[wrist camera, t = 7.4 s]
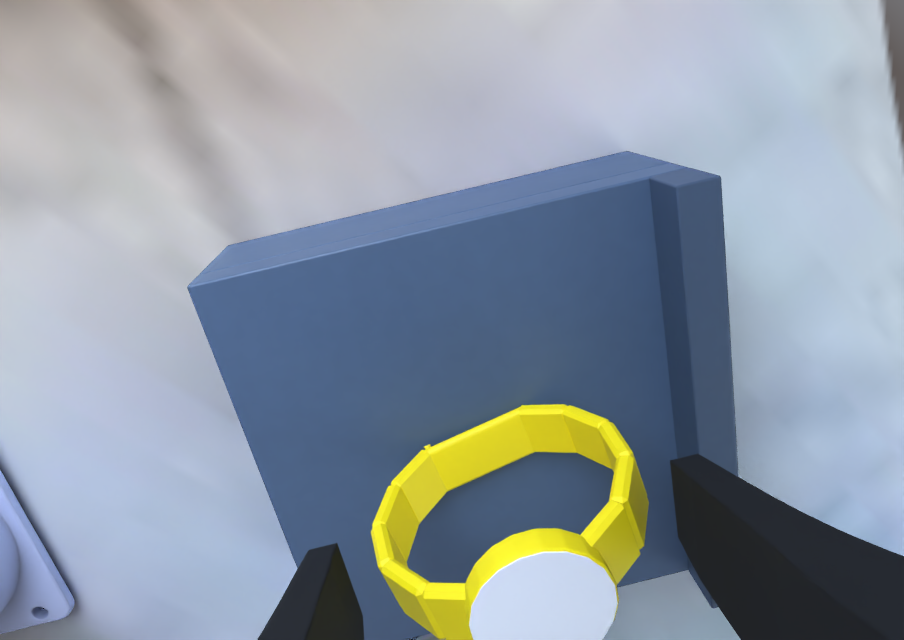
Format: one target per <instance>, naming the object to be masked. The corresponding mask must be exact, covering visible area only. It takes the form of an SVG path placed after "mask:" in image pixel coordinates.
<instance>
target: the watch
mask: <svg viewBox="0 0 904 640" xmlns="http://www.w3.org/2000/svg"><path fill="white" fill-rule="evenodd" d="M424 448H425V450H421V451H420V452H419V453H418V454H417V455H416V456H415V457H414V458H413V460H412V461H411V462H410V463H409V464H408V465H407V466H406V467H405V468H404V469H403V470H402V471H401V472H400V473H399V474H398V475H397V476H396V477H395V478H394V479H393V480H392V482H391V486H388V488H387V490H386V492H385V495H384V497H383V500H382V502H381V504H380V507H379V509H378V512H377V514H376V516H375V519H374V521H373V524H372V527H373V528H372V530H371V535H372V540H373V545H374V550H375V555H376V560H377V565H378V568H379V570H380V571H381V573H382V575H383V577H384V578H385V580H386V582H387V584H388V585H389V587H390V589H391V591H392V593H393V594H394V596H395V598H396V600H397V601H398V603H399V605H400V607H401V608H402V609H403V611H404V613H405V614H407V615H408V616H409V617H410V618H412V619H413V620H414V621H416V622H417V623H418V624H420V625H421V626H422V627H424V628H425V629H426V630H428V631H429V632H430V633H432V634H433V635H434V636H436V637H437V638H438V639H445V638H446V640H602V639H603V638H604V636H605V635H606V633H607V632H608V630H609V628H610V627H611V625H612V623H613V622H614V620H615V616H616V612H617V608H618V603H619V597H618V591H617V584H618V583H619V582H620V580H621V579H622V578H623V576H624V575H625V574H626V573H627V571H628V570H629V569H630V567H631V566H632V565H633V563H634V562H635V561H636V559H637V558H638V557H639V556H640V550H639V549H641V548H642V547H643V546H644V542H645V533H646V524H647V515H648V506H649V501H648V498H647V493H646V490H645V487H644V484H643V481H642V478H641V475H640V472H639V469H638V466H637V463H636V460H635V457H634V454H633V452H632V450H631V449H630V447H629V446H628V444H627V443H626V441H625V440H624V438H623V437H622V435H621V434H620V432H619V431H618V429H617V428H616V426H615V425H614V423H612V422H609V420H608V419H606V418H603V417H601V416H598V415H595V414H593V413H590V412H588V411H585V410H582V409H580V408H577V407H574V406H571V405H569V406H567V405H565V404H553V405H521V407H518V408H516V409H514V410H512V411H510V412H507V413H505V414H503V415H501V416H498V417H496V418H494V419H492V420H490V421H487V422H485V423H483V424H481V425H478V426H476V427H474V428H472V429H470V430H467V431H465V432H463V433H461V434H458V435H456V436H454V437H452V438H450V439H447V440H445V441H443V442H441V443H438V444H436V445H434V446H432V447H431V446H430V444H429V445H426V446H424ZM534 452H558V453H578V454H581V455H583V456H585V457H587V458H589V459H591V460H593V461H595V462H597V463H600V464H602V465H604V466H606V467H608V468H610V469H612V470H613V472H614V475H613V481H612V486H611V492H610V497H609V502H608V503H607V504H606V505H605V506H604V508H603V509H602V510H601V511H600V512H599V513H598V515H597V516H596V517H595V518H594V519H593V520H592V522H591V523H590V524H589V525H588V526H587V527H586V529H585V530H584V531H583V532H582V533H581V534H580V535H579V534H576V533H573V532H569V531H566V530H563V529H558V528H536V529H531V530H527V531H524V532H520V533H517V534H513V535H511V536H509V537H507V538H506V539H504V540H502V541H500V542H499V543H497V544H495V545H494V546H492V547H491V548H490V549H489V550H488V551H487V552H486V553H485V554H484V555H483V556H482V557H481V558H480V559H479V560H478V561H477V562H476V563H475V565H474V567H473V569H472V571H471V572H470V574H469V576H468V578H467V580H466V583H435V582H431V583H430V582H429V581H427V580H426V579H424V578H423V577H421V576H420V575H418V574H416V573H415V572H413V571H412V570H410V569H409V568H408V566H407V560H408V557H409V554H410V550H411V547H412V544H413V541H414V538H415V535H416V532H417V529H418V526H419V524H420V523H421V521H422V520H423V519H424V518H425V517H426V516H427V514H428V513H429V512H430V511H431V510H432V509H433V508H434V506H435V505H436V504H437V503H438V502H439V501H440V499H441V498H442V497H443V496H444V495H445V494H446V492H448V491H450V490H452V489H454V488H457V487H459V486H461V485H463V484H465V483H468V482H470V481H472V480H474V479H476V478H479V477H481V476H483V475H485V474H487V473H490V472H492V471H494V470H496V469H499V468H501V467H503V466H505V465H507V464H510V463H512V462H514V461H516V460H518V459H521V458H523V457H525V456H527V455H529V454H532V453H534Z"/></svg>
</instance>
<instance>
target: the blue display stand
mask: <svg viewBox="0 0 904 640" xmlns="http://www.w3.org/2000/svg"><path fill="white" fill-rule="evenodd" d="M188 291H189V293H190V296H191V298H192V301H193V304H194V306H195V309H196V311H197V314H198V316H199V319H200V321H201V324H202V326H203V329H204V332H205V334H206V337H207V339H208V342H209V344H210V347H211V349H212V352H213V354H214V357H215V360H216V362H217V365H218V367H219V370H220V372H221V375H222V377H223V380H224V382H225V385H226V388H227V390H228V393H229V395H230V398H231V400H232V403H233V405H234V408H235V410H236V413H237V416H238V418H239V421H240V423H241V426H242V428H243V431H244V433H245V436H246V438H247V441H248V444H249V446H250V449H251V451H252V454H253V456H254V459H255V461H256V464H257V466H258V469H259V472H260V474H261V477H262V479H263V482H264V484H265V487H266V489H267V492H268V494H269V497H270V500H271V502H272V505H273V507H274V510H275V512H276V515H277V517H278V520H279V522H280V525H281V528H282V530H283V533H284V535H285V538H286V540H287V543H288V545H289V548H290V550H291V553H292V556H293V558H294V561H295V563H296V566H297V568H299V566H300V564H301V562H302V560H303V558H304V557H305V555H306V553H307V552H308V550H310V549H314V548H318V547H322V546H326V545H331V544H335V543H337V544H338V547H339V550H340V552H341V555H342V558H343V561H344V564H345V566H346V569H347V572H348V575H349V578H350V580H351V583H352V586H353V589H354V592H355V594H356V597H357V600H358V603H359V606H360V608H361V611H362V614H363V624H364V640H406V639H410V638H414V637H418V636H422V635H426V634H430V632H429V631H428V630H426V629H425V628H424V627H422V626H421V625H420V624H418V623H417V622H416V621H414V620H413V619H412V618H410V617H409V616H408V615H407V614H405V613H404V611H403V609H402V608H401V607H400V605H399V603H398V601H397V600H396V598H395V596H394V594H393V593H392V591H391V589H390V587H389V585H388V584H387V582H386V580H385V578H384V577H383V575H382V573H381V571H380V570H379V568H378V565H377V560H376V555H375V550H374V545H373V540H372V535H371V530H372V528H373V527H372V524H373V521H374V519H375V516H376V514H377V512H378V509H379V507H380V504H381V502H382V500H383V497H384V495H385V492H386V490H387V488H388V486H391V482H392V480H393V479H394V478H395V477H396V476H397V475H398V474H399V473H400V472H401V471H402V470H403V469H404V468H405V467H406V466H407V465H408V464H409V463H410V462H411V461H412V460H413V458H414V457H415V456H416V455H417V454H418V453H419V452H420V451H421V450H425V448H424V446H426V445H429V444H430V446H431V447H432V446H434V445H436V444H438V443H441V442H443V441H445V440H447V439H450V438H452V437H454V436H456V435H458V434H461V433H463V432H465V431H467V430H470V429H472V428H474V427H476V426H478V425H481V424H483V423H485V422H487V421H490V420H492V419H494V418H496V417H498V416H501V415H503V414H505V413H507V412H510V411H512V410H514V409H516V408H518V407H521V405H553V404H565V405H567V406H569V405H571V406H574V407H577V408H580V409H582V410H585V411H588V412H590V413H593V414H595V415H598V416H601V417H603V418H606V419H608V420H609V422H612V423H614V425H615V426H616V428H617V429H618V431H619V432H620V434H621V435H622V437H623V438H624V440H625V441H626V443H627V444H628V446H629V447H630V449H631V450H632V452H633V454H634V457H635V460H636V463H637V466H638V469H639V472H640V475H641V478H642V481H643V484H644V487H645V490H646V493H647V498H648V501H649V506H648V515H647V524H646V533H645V542H644V546H643V547H642V548H641V549H639V550H640V556H639V557H638V558H637V559H636V561H635V562H634V563H633V565H632V566H631V567H630V569H629V570H628V571H627V573H626V574H625V575H624V576H623V578H622V579H621V580H620V582H619V583H618V584H617V587H621V586H625V585H629V584H633V583H637V582H641V581H645V580H649V579H653V578H657V577H661V576H665V575H669V574H674V573H678V572H682V571H686V570H689V572H690V574H691V575H692V577H693V579H694V580H695V582H696V583H697V585H698V587H699V588H700V590H701V591H702V593H703V595H704V596H705V598H706V600H707V601H708V603H709V604H710V606H711V607H712V608H717V607H718V605H717V604H716V602H715V601H714V599H713V598H712V597H711V595H710V594H709V592H708V591H707V589H706V588H705V586H704V585H703V583H702V582H701V580H700V578H699V576H698V575H697V573H696V571H695V569H694V567H693V565H692V563H691V562H690V560H689V558H688V556H687V554H686V552H685V550H684V548H683V546H682V544H681V542H680V540H679V538H678V532H677V523H676V513H675V504H674V495H673V485H672V476H671V466H670V460H674V459H678V458H682V457H686V456H690V455H694V454H699V455H701V456H703V457H705V458H707V459H708V460H710V461H712V462H713V463H715V464H717V465H719V466H720V467H722V468H724V469H725V470H727V471H729V472H730V473H732V474H734V475H736V476H737V477H738V460H737V443H736V426H735V409H734V392H733V375H732V358H731V341H730V324H729V307H728V290H727V273H726V256H725V239H724V222H723V205H722V188H721V177H720V176H718V175H715V174H711V173H707V172H703V171H700V170H696V169H692V168H688V167H684V166H680V165H677V164H673V163H669V162H666V161H662V160H658V159H655V158H651V157H647V156H644V155H640V154H636V153H633V152H629V151H625V152H621V153H617V154H613V155H608V156H604V157H600V158H596V159H591V160H587V161H583V162H579V163H575V164H570V165H566V166H562V167H558V168H553V169H549V170H545V171H541V172H537V173H532V174H528V175H524V176H520V177H515V178H511V179H507V180H503V181H498V182H494V183H490V184H486V185H482V186H477V187H473V188H469V189H465V190H460V191H456V192H452V193H448V194H444V195H439V196H435V197H431V198H427V199H422V200H418V201H414V202H410V203H406V204H401V205H397V206H393V207H389V208H384V209H380V210H376V211H372V212H367V213H363V214H359V215H355V216H351V217H346V218H342V219H338V220H334V221H329V222H325V223H321V224H317V225H313V226H308V227H304V228H300V229H296V230H291V231H287V232H283V233H279V234H275V235H270V236H266V237H262V238H258V239H253V240H249V241H245V242H241V243H237V244H232V245H228V246H227V247H226V248H225V249H224V250H223V251H222V252H221V253H220V254H219V255H218V256H217V257H216V258H215V259H214V260H213V261H212V262H211V263H210V264H209V265H208V266H207V267H206V268H205V269H204V270H203V271H202V272H201V273H200V275H198V276H197V277H196V278H195V279H194V280H193V281H192V282H191V283H190V284H189V285H188ZM613 475H614V472H613V470H612V469H610V468H608V467H606V466H604V465H602V464H600V463H597V462H595V461H593V460H591V459H589V458H587V457H585V456H583V455H581V454H578V453H558V452H534V453H532V454H529V455H527V456H525V457H523V458H521V459H518V460H516V461H514V462H512V463H510V464H507V465H505V466H503V467H501V468H499V469H496V470H494V471H492V472H490V473H487V474H485V475H483V476H481V477H479V478H476V479H474V480H472V481H470V482H468V483H465V484H463V485H461V486H459V487H457V488H454V489H452V490H450V491H448V492H446V494H445V495H444V496H443V497H442V498H441V499H440V501H439V502H438V503H437V504H436V505H435V506H434V508H433V509H432V510H431V511H430V512H429V513H428V514H427V516H426V517H425V518H424V519H423V520H422V521H421V523H420V524H419V526H418V529H417V532H416V535H415V538H414V541H413V544H412V547H411V550H410V554H409V557H408V560H407V566H408V568H409V569H410V570H412V571H413V572H415V573H416V574H418V575H420V576H421V577H423V578H424V579H426V580H427V581H429V582H430V583H431V582H435V583H466V580H467V578H468V576H469V574H470V572H471V571H472V569H473V567H474V565H475V563H476V562H477V561H478V560H479V559H480V558H481V557H482V556H483V555H484V554H485V553H486V552H487V551H488V550H489V549H490V548H491V547H492V546H494V545H495V544H497V543H499V542H500V541H502V540H504V539H506V538H507V537H509V536H511V535H513V534H517V533H520V532H524V531H527V530H531V529H536V528H558V529H563V530H566V531H569V532H573V533H576V534H579V535H580V534H581V533H582V532H583V531H584V530H585V529H586V527H587V526H588V525H589V524H590V523H591V522H592V520H593V519H594V518H595V517H596V516H597V515H598V513H599V512H600V511H601V510H602V509H603V508H604V506H605V505H606V504H607V503H608V502H609V497H610V492H611V486H612V481H613Z"/></svg>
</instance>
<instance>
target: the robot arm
mask: <svg viewBox="0 0 904 640" xmlns="http://www.w3.org/2000/svg"><path fill="white" fill-rule="evenodd" d="M670 466H671V476H672V485H673V495H674V504H675V513H676V523H677V532H678V538H679V540H680V542H681V544H682V546H683V548H684V550H685V552H686V554H687V556H688V558H689V560H690V562H691V563H692V565H693V567H694V569H695V571H696V573H697V575H698V576H699V578H700V580H701V582H702V583H703V585H704V586H705V588H706V589H707V591H708V592H709V594H710V595H711V597H712V598H713V599H714V601H715V602H716V604H717V605H718V607H719V608H720V610H721V611H722V613H723V614H724V616H725V617H726V619H727V620H728V621H729V623H730V624H731V626H732V627H733V629H734V630H735V632H736V633H737V634H738V636H739V637H740V639H741V640H904V556H902V555H899V554H896V553H893V552H891V551H888V550H886V549H883V548H881V547H878V546H876V545H873V544H871V543H869V542H866V541H864V540H861V539H859V538H856V537H854V536H852V535H849V534H847V533H845V532H842V531H840V530H838V529H836V528H834V527H832V526H830V525H827V524H825V523H823V522H821V521H819V520H817V519H815V518H813V517H811V516H809V515H807V514H805V513H803V512H801V511H799V510H797V509H795V508H793V507H791V506H789V505H787V504H785V503H784V502H782V501H780V500H778V499H776V498H774V497H772V496H771V495H769V494H767V493H765V492H763V491H762V490H760V489H758V488H756V487H755V486H753V485H751V484H749V483H748V482H746V481H744V480H742V479H741V478H739V477H737V476H736V475H734V474H732V473H730V472H729V471H727V470H725V469H724V468H722V467H720V466H719V465H717V464H715V463H713V462H712V461H710V460H708V459H707V458H705V457H703V456H701V455H699V454H694V455H690V456H686V457H682V458H678V459H674V460H670ZM74 604H75V601H74V598H73V596H72V594H71V593H70V591H69V589H68V587H67V586H66V584H65V582H64V580H63V579H62V577H61V575H60V573H59V572H58V570H57V568H56V566H55V565H54V563H53V561H52V560H51V558H50V556H49V554H48V553H47V551H46V549H45V547H44V546H43V544H42V542H41V540H40V539H39V537H38V535H37V533H36V532H35V530H34V528H33V526H32V525H31V523H30V521H29V519H28V518H27V516H26V514H25V512H24V511H23V509H22V507H21V505H20V504H19V502H18V500H17V498H16V497H15V495H14V493H13V492H12V490H11V488H10V486H9V485H8V483H7V481H6V479H5V478H4V476H3V474H2V472H1V471H0V634H3V633H7V632H11V631H15V630H19V629H23V628H27V627H31V626H35V625H39V624H43V623H48V622H52V621H56V620H60V619H63V618H65V617H67V616H68V615H69V614H70V612H71V611H72V609H73V607H74ZM40 607H42V608H45V609H46V610H44V609H41V608H40ZM258 640H364V624H363V614H362V611H361V608H360V606H359V603H358V600H357V597H356V594H355V592H354V589H353V586H352V583H351V580H350V578H349V575H348V572H347V569H346V566H345V564H344V561H343V558H342V555H341V552H340V550H339V547H338V544H337V543H335V544H331V545H326V546H322V547H318V548H314V549H310V550H308V552H307V553H306V555H305V557H304V558H303V560H302V562H301V564H300V566H299V568H298V569H297V571H296V573H295V575H294V577H293V579H292V580H291V582H290V584H289V586H288V588H287V590H286V591H285V593H284V595H283V597H282V599H281V600H280V602H279V604H278V606H277V608H276V609H275V611H274V613H273V614H272V616H271V618H270V619H269V621H268V623H267V625H266V626H265V628H264V630H263V631H262V633H261V635H260V636H259V638H258Z"/></svg>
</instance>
